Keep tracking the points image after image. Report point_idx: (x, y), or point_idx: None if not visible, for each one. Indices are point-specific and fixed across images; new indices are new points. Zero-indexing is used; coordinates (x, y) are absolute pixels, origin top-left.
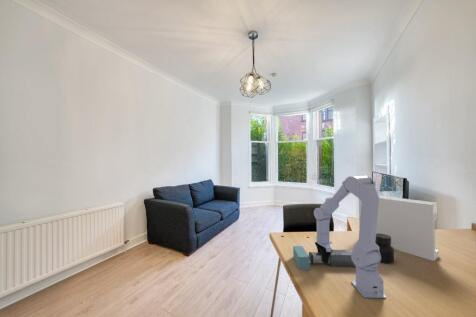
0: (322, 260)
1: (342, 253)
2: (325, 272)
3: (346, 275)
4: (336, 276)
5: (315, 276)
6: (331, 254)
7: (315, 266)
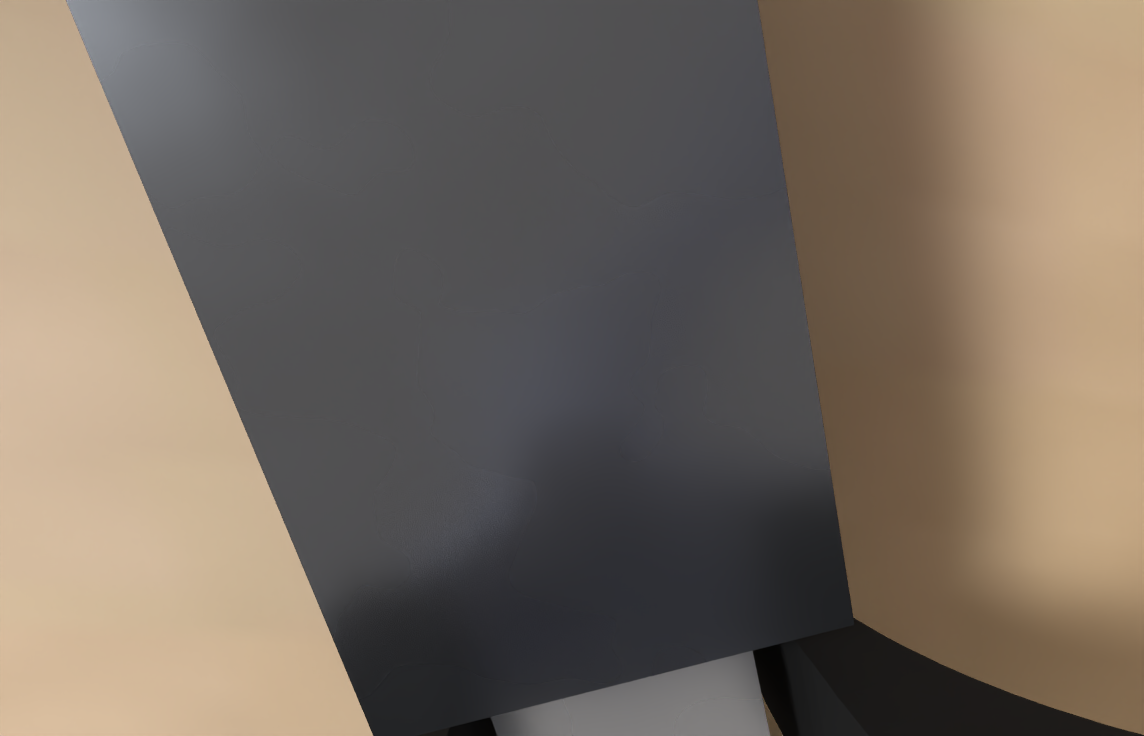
0: (762, 694)
1: (603, 96)
2: (979, 570)
3: (1053, 164)
4: (1108, 386)
5: (1131, 731)
6: (826, 600)
7: (778, 726)
